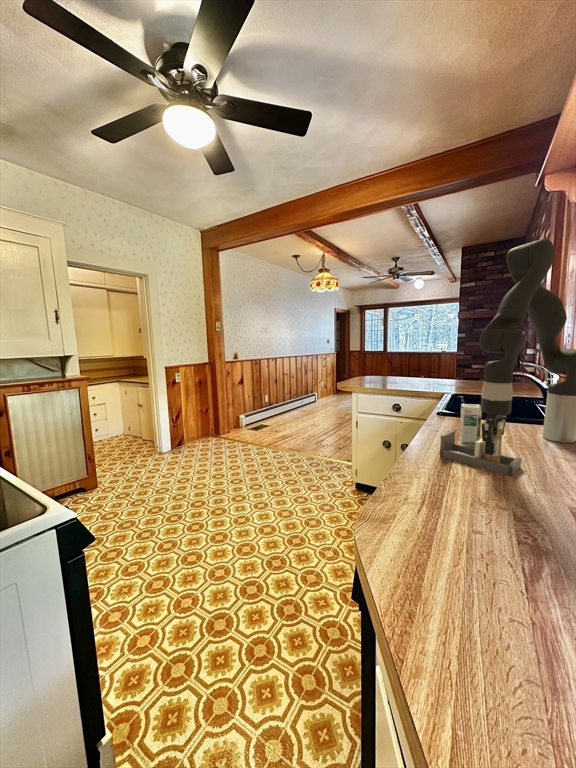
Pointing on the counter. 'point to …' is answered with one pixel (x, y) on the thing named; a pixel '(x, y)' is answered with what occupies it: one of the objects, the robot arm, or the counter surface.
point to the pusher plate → (479, 448)
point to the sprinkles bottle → (495, 447)
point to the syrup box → (470, 424)
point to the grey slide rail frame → (467, 456)
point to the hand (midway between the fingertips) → (491, 451)
